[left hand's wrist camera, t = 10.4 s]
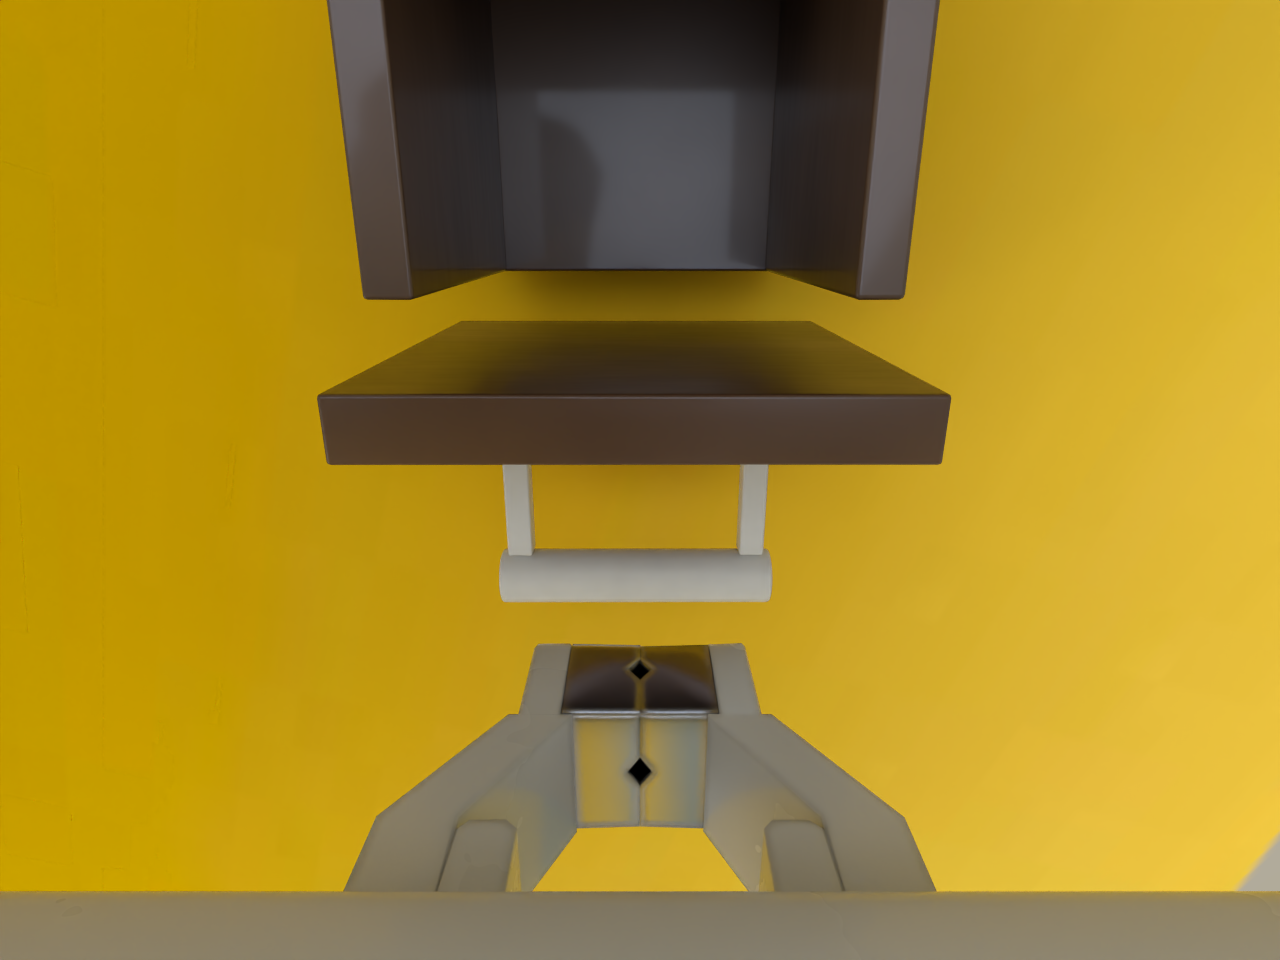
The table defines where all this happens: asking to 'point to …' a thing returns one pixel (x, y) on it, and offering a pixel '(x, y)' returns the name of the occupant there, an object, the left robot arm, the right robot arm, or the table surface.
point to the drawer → (633, 248)
